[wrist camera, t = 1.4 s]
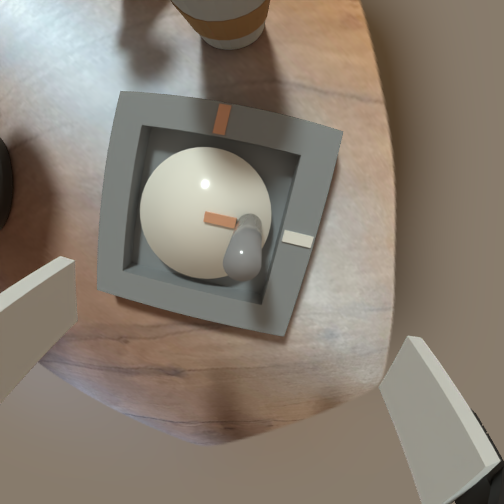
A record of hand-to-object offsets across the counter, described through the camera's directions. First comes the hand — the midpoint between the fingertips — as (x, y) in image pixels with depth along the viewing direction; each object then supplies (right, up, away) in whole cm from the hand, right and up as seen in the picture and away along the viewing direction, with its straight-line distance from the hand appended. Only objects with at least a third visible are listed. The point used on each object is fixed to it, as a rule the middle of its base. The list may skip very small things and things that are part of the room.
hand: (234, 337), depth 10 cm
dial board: (-4, +7, +18) cm, 20 cm away
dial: (-4, +7, +17) cm, 19 cm away
